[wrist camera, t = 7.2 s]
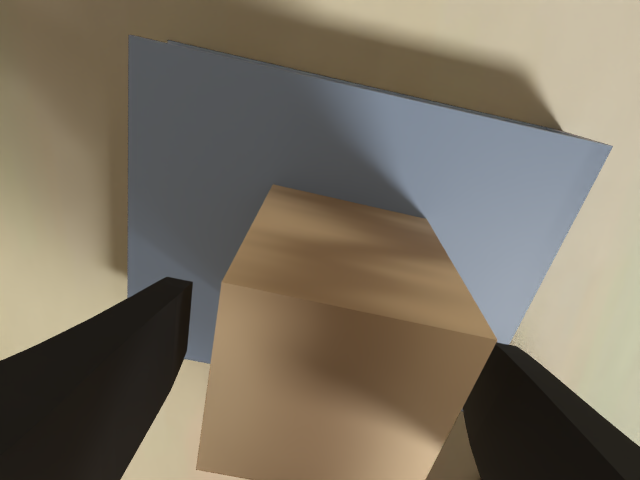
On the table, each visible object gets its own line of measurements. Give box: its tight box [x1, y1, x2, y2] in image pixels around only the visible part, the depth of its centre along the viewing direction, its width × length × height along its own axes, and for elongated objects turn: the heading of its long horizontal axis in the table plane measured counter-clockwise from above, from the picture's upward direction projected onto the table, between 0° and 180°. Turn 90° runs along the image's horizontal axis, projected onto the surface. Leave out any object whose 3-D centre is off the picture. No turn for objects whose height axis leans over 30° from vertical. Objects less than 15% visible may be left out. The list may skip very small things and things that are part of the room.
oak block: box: [196, 184, 497, 480], centre depth 11 cm, size 5×5×6 cm
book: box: [128, 35, 613, 411], centre depth 15 cm, size 14×11×3 cm
